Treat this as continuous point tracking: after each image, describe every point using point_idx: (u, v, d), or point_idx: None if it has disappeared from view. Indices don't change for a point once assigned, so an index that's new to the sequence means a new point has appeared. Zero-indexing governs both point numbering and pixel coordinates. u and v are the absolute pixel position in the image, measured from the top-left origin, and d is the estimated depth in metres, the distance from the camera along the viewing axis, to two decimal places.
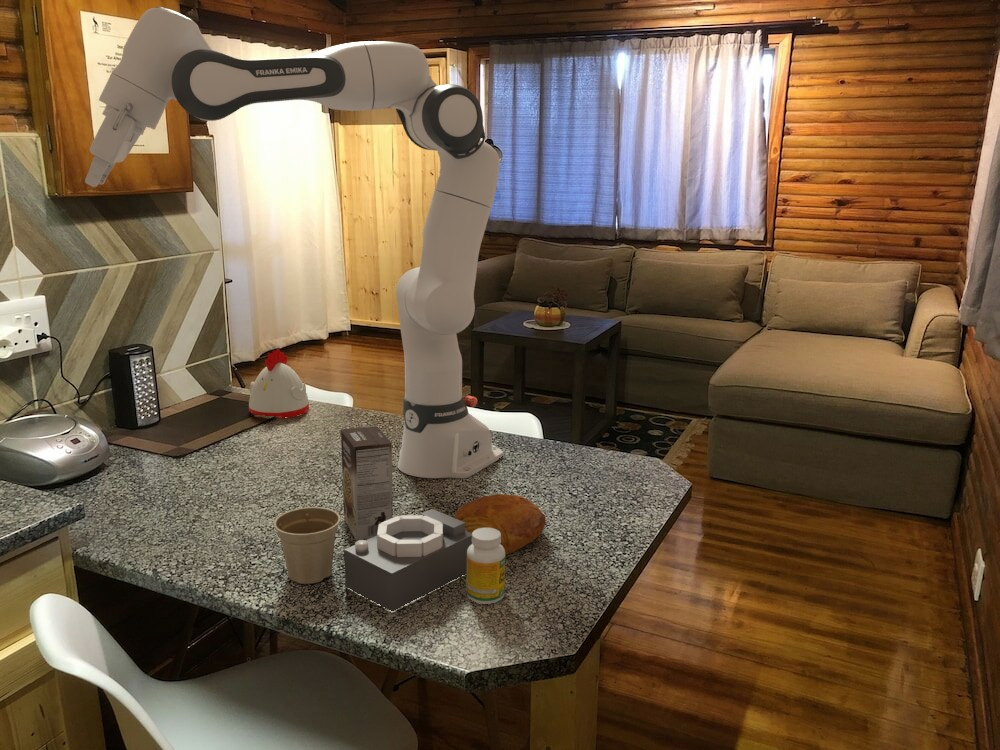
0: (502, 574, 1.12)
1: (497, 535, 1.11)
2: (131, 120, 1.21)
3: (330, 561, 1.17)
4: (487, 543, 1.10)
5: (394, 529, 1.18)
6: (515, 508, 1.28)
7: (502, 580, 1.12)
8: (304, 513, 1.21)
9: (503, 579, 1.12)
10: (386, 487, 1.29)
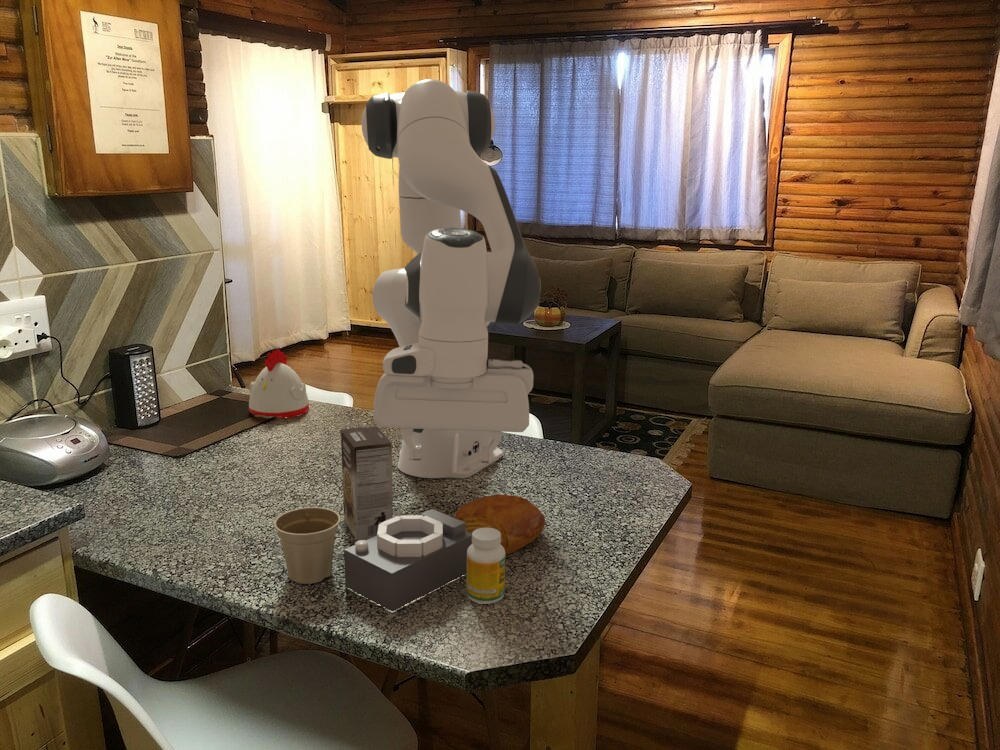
0: (502, 574, 1.12)
1: (497, 535, 1.11)
2: None
3: (330, 561, 1.17)
4: (487, 543, 1.10)
5: (394, 529, 1.18)
6: (515, 508, 1.28)
7: (502, 580, 1.12)
8: (304, 513, 1.21)
9: (503, 579, 1.12)
10: (386, 487, 1.29)
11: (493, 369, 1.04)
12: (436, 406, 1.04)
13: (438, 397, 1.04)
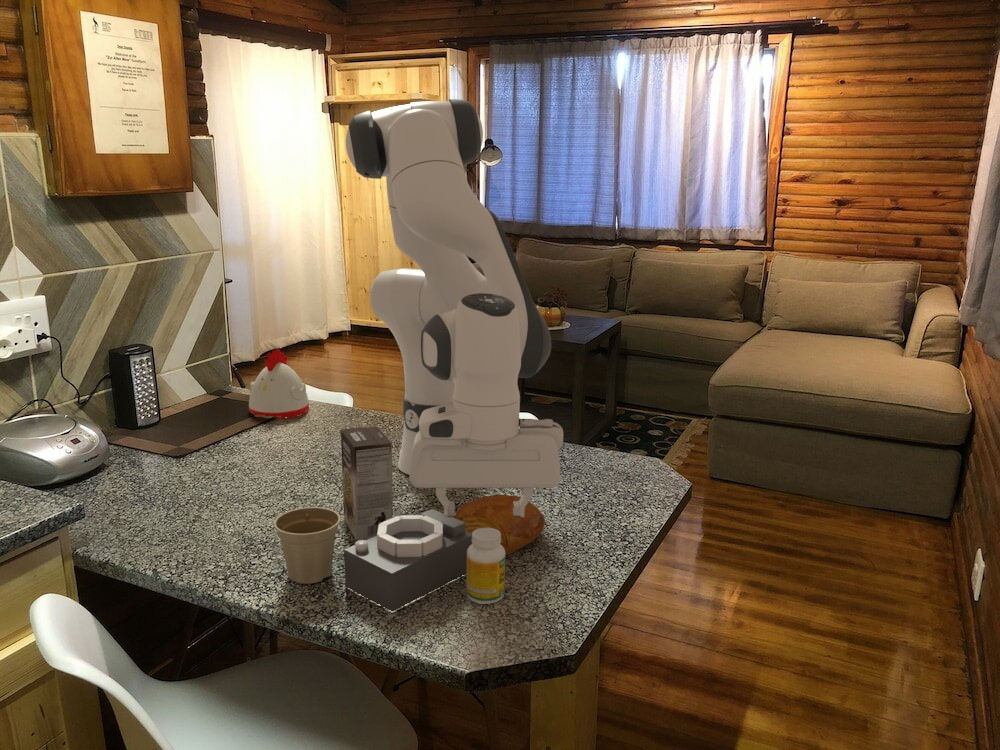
0: (502, 574, 1.12)
1: (497, 535, 1.11)
2: None
3: (330, 561, 1.17)
4: (487, 543, 1.10)
5: (394, 529, 1.18)
6: None
7: (502, 580, 1.12)
8: (304, 513, 1.21)
9: (503, 579, 1.12)
10: (386, 487, 1.29)
11: (525, 428, 1.07)
12: (471, 466, 1.07)
13: (472, 457, 1.07)
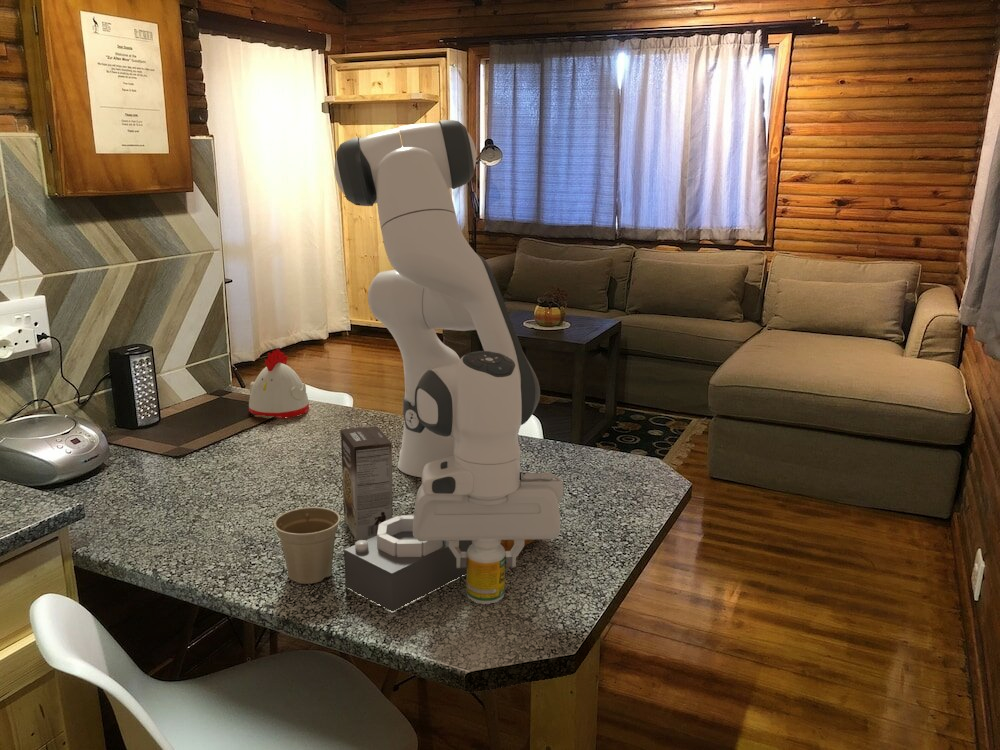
0: (502, 574, 1.12)
1: None
2: None
3: (330, 561, 1.17)
4: (487, 543, 1.10)
5: (394, 529, 1.18)
6: None
7: (502, 580, 1.12)
8: (304, 513, 1.21)
9: (503, 579, 1.12)
10: (386, 487, 1.29)
11: (526, 482, 1.10)
12: (473, 519, 1.09)
13: (474, 511, 1.09)
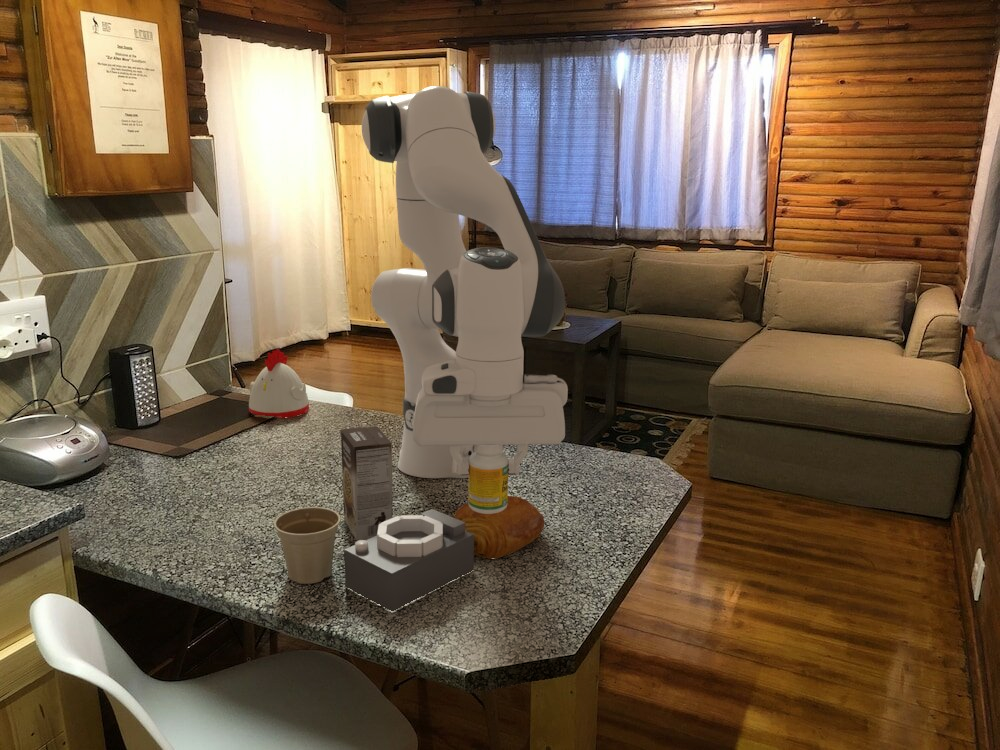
0: (505, 483, 1.09)
1: None
2: None
3: (330, 561, 1.17)
4: (489, 449, 1.06)
5: (394, 529, 1.18)
6: (514, 509, 1.27)
7: (505, 489, 1.09)
8: (304, 513, 1.21)
9: (506, 488, 1.09)
10: (386, 487, 1.29)
11: (529, 384, 1.06)
12: (475, 423, 1.06)
13: (476, 414, 1.06)
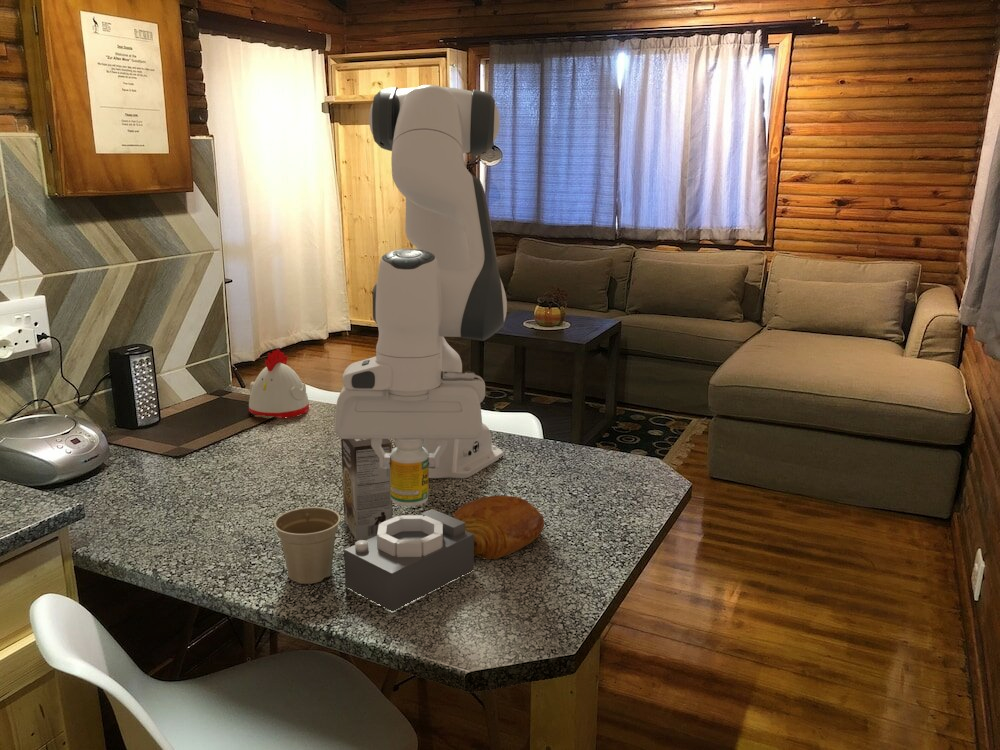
0: (425, 477, 1.13)
1: None
2: None
3: (330, 561, 1.17)
4: (409, 443, 1.10)
5: (394, 529, 1.18)
6: (513, 509, 1.27)
7: (425, 482, 1.13)
8: (304, 513, 1.21)
9: (426, 482, 1.13)
10: (386, 487, 1.29)
11: (447, 381, 1.10)
12: (395, 417, 1.10)
13: (396, 409, 1.10)
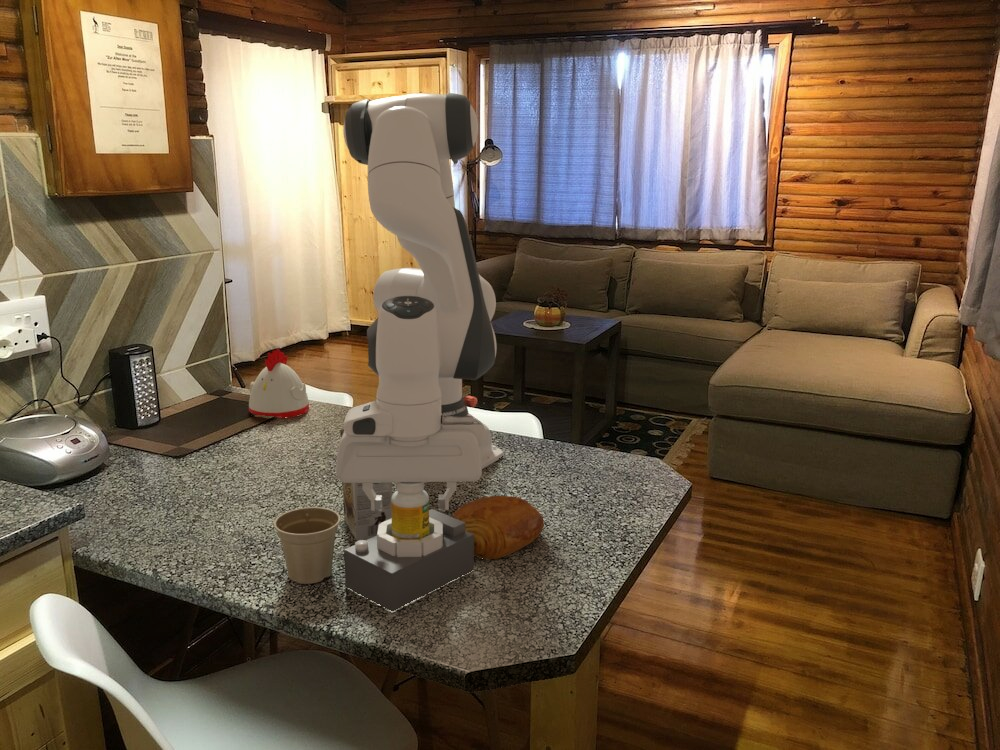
0: (426, 520, 1.14)
1: None
2: None
3: (330, 561, 1.17)
4: (409, 488, 1.12)
5: None
6: (513, 509, 1.27)
7: (426, 525, 1.15)
8: (304, 513, 1.21)
9: (427, 524, 1.15)
10: (386, 487, 1.29)
11: (447, 425, 1.12)
12: (395, 461, 1.11)
13: (396, 453, 1.11)
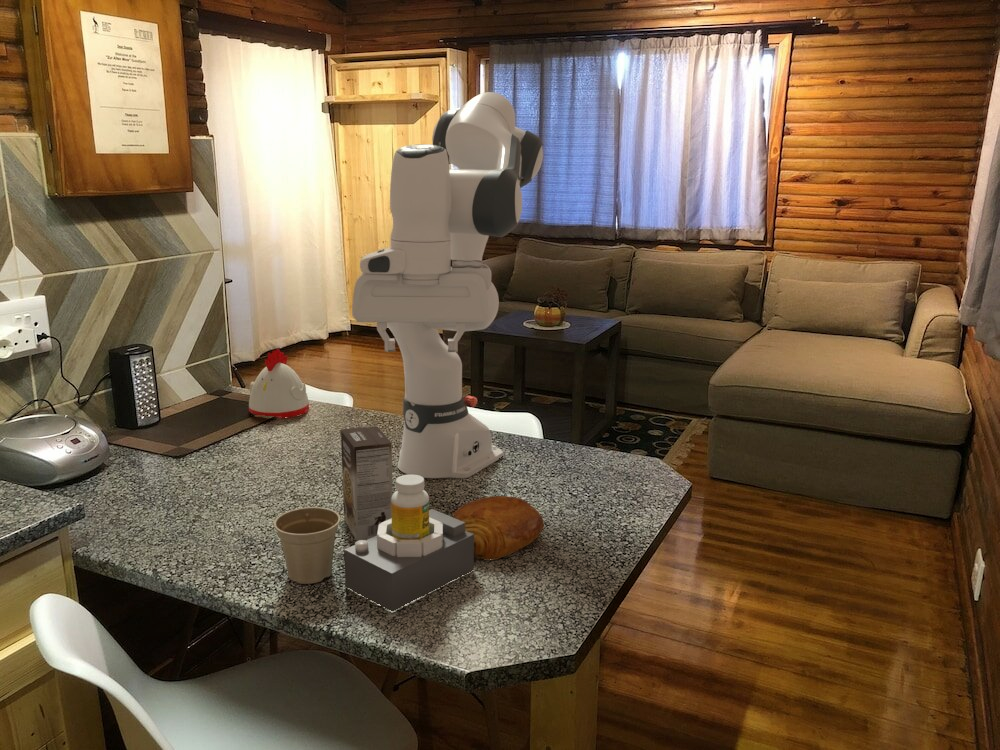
0: (426, 520, 1.14)
1: (420, 481, 1.14)
2: None
3: (330, 561, 1.17)
4: (409, 488, 1.12)
5: None
6: (512, 510, 1.27)
7: (426, 525, 1.15)
8: (303, 513, 1.21)
9: (427, 524, 1.15)
10: (386, 487, 1.29)
11: (457, 268, 1.19)
12: (408, 301, 1.19)
13: (409, 294, 1.19)
